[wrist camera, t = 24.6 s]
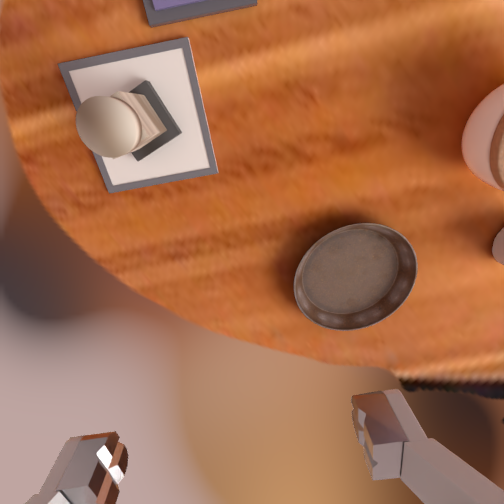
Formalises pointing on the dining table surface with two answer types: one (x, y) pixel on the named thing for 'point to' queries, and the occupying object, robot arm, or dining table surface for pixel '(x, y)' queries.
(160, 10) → the ink pad
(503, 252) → the can
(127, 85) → the marked square
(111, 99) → the stamp
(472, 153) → the lidded bowl
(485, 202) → the dining table surface
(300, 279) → the plant saucer
